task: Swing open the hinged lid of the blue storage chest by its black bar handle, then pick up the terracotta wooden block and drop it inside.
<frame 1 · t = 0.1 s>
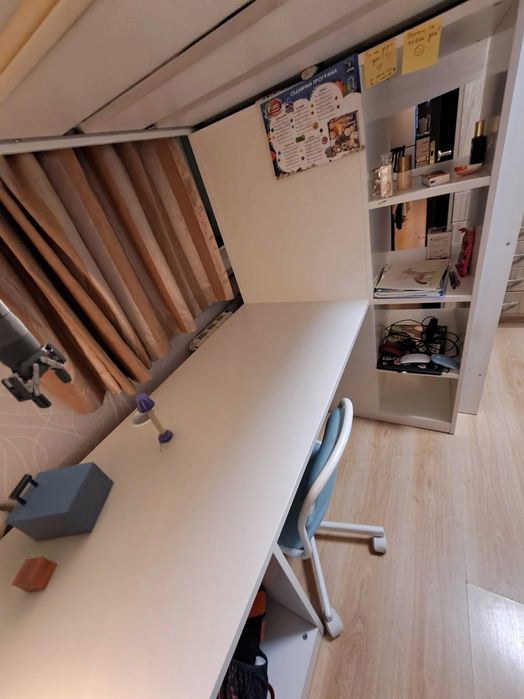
hand: (58, 393, 69), 28 cm above the table, tool pointing down, fingers open, 8 cm apart
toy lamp: (167, 436, 88), on the table
blue storage chest: (77, 509, 75), on the table
block: (42, 578, 63), on the table
lid: (46, 486, 69), point 11 cm above the table, hinge at 0.0°
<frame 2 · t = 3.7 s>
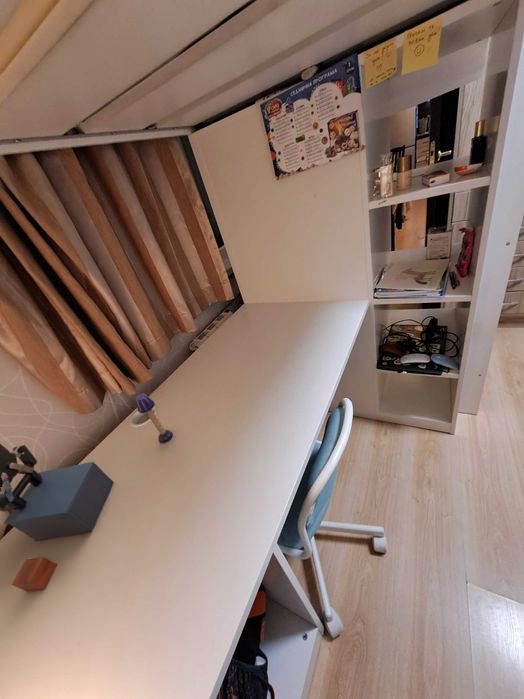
hand: (30, 494, 70), 10 cm above the table, tool pointing down, fingers closed on lid, 5 cm apart
lid: (46, 486, 69), point 11 cm above the table, hinge at -0.2°, touching gripper, blue storage chest
everything else where it was.
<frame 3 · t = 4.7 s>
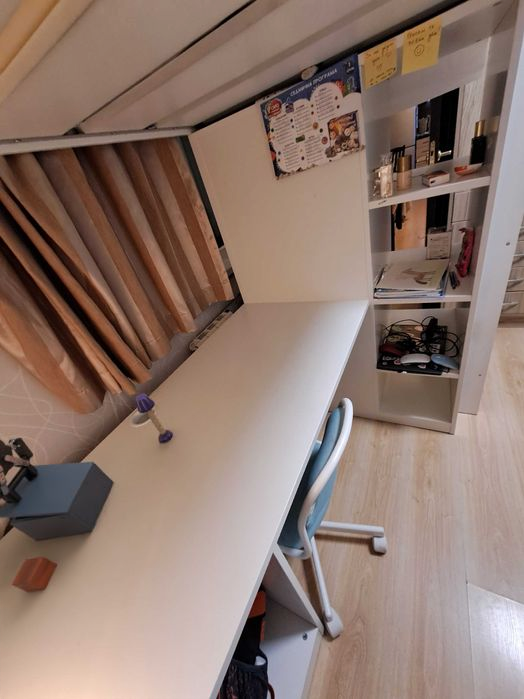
hand: (26, 487, 69), 12 cm above the table, tool pointing down, fingers closed on lid, 5 cm apart
lid: (43, 482, 68), point 13 cm above the table, hinge at 10.6°, touching gripper
everything else where it was.
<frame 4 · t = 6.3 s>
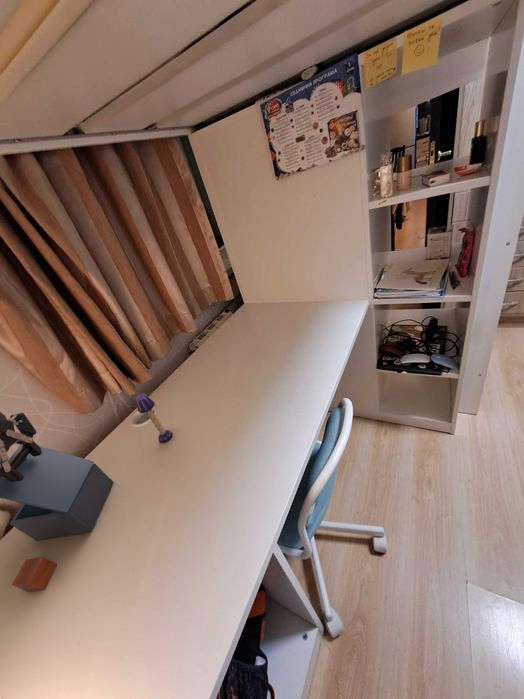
hand: (29, 466, 64), 19 cm above the table, tool pointing down, fingers closed on lid, 5 cm apart
lid: (45, 471, 65), point 17 cm above the table, hinge at 46.1°, touching gripper
everything else where it was.
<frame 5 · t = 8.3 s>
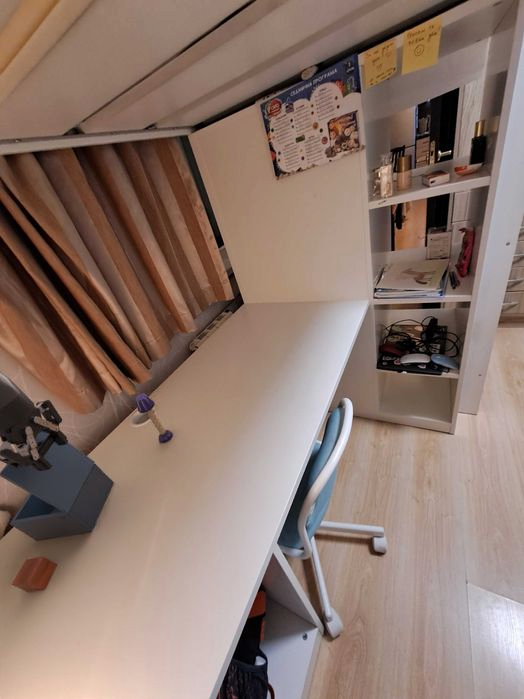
hand: (55, 455, 62), 21 cm above the table, tool pointing down, fingers closed on lid, 5 cm apart
lid: (60, 464, 64), point 18 cm above the table, hinge at 78.6°, touching gripper
everything else where it was.
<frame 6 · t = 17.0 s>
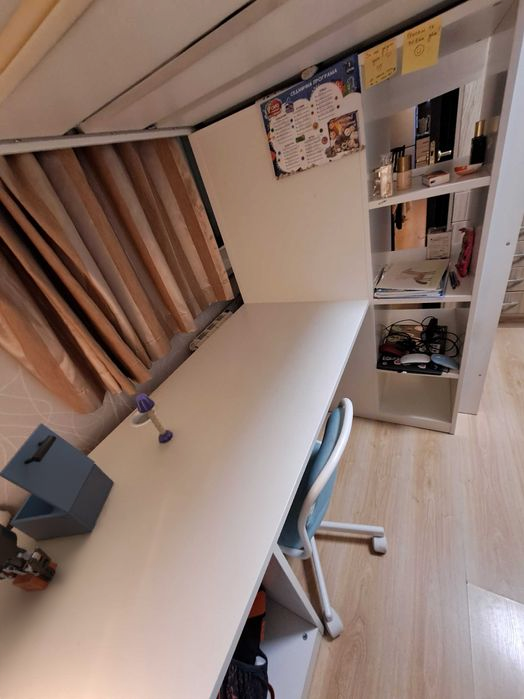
hand: (41, 577, 62), 0 cm above the table, tool pointing down, fingers closed on block, 4 cm apart
block: (42, 578, 63), on the table, touching gripper
lid: (60, 464, 64), point 18 cm above the table, hinge at 78.8°
everything else where it was.
when the fingers open (11 cm above the table, at t = 24.2 s): block drops 10 cm, resting on blue storage chest.
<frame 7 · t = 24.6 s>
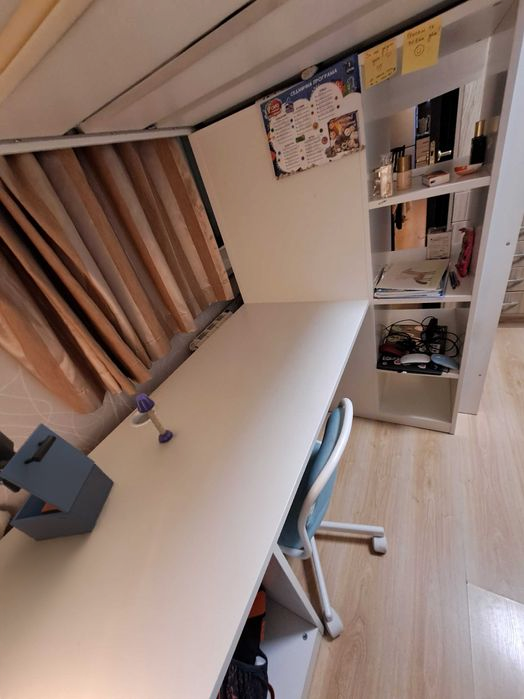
hand: (33, 486, 68), 12 cm above the table, tool pointing down, fingers open, 7 cm apart
block: (65, 510, 75), point 1 cm above the table, touching blue storage chest
everything else where it was.
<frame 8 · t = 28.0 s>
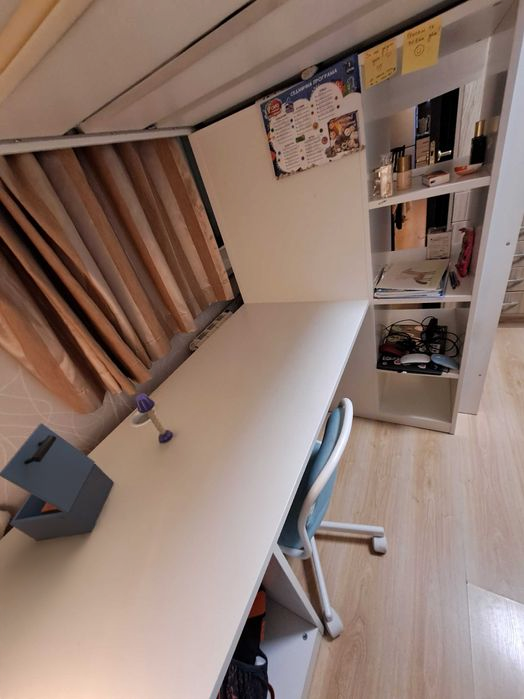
nothing on the table moved.
at the end: lid at +79° (first picture: +0°); block inside the target area in the blue storage chest (2.9 cm from its centre), point 0.8 cm above the blue storage chest's base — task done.
